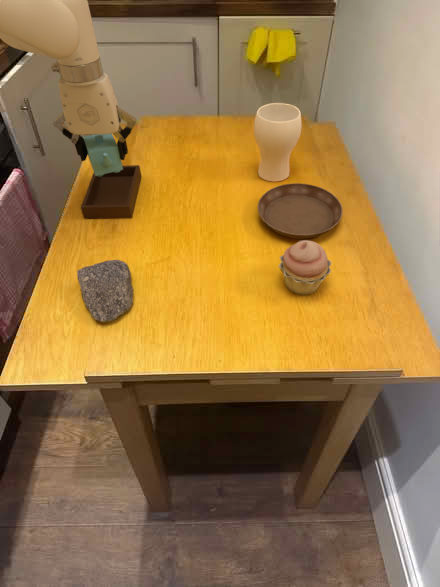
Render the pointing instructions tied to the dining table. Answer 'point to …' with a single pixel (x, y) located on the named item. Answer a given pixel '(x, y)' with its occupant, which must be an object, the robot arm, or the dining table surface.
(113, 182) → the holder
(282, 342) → the dining table surface
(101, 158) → the teapot
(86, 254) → the dining table surface
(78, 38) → the robot arm
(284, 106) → the cup
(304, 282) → the cupcake
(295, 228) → the plant saucer
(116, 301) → the rock
